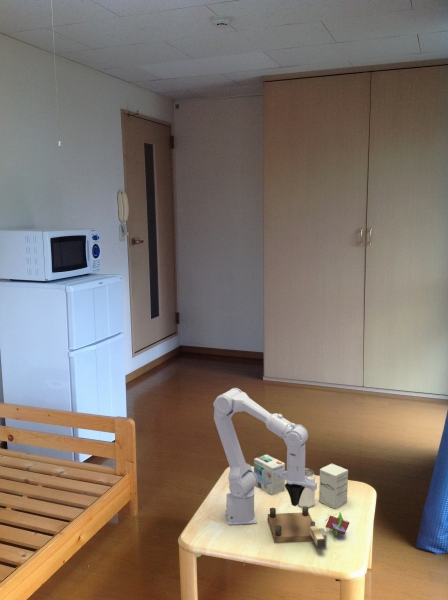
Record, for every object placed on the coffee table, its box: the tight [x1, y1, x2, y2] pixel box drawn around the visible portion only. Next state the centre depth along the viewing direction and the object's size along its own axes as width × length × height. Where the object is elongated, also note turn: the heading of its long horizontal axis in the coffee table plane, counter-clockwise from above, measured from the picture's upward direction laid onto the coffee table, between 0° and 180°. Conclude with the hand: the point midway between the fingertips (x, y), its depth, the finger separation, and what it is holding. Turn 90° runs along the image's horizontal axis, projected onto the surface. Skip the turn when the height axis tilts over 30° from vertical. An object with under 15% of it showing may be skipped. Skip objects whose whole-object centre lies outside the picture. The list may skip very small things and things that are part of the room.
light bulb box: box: [253, 453, 286, 496], centre depth 211 cm, size 11×7×11 cm, turn 37°
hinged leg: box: [310, 520, 325, 549], centre depth 174 cm, size 10×2×3 cm, turn 8°
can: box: [297, 467, 316, 509], centre depth 199 cm, size 6×6×12 cm
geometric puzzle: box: [324, 512, 351, 538], centre depth 180 cm, size 7×7×8 cm
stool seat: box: [267, 506, 314, 544], centre depth 183 cm, size 14×14×4 cm
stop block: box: [318, 527, 328, 550], centre depth 174 cm, size 1×4×5 cm, turn 4°
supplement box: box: [318, 463, 349, 510], centre depth 200 cm, size 7×7×13 cm
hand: (295, 504), depth 180 cm, fingers closed
